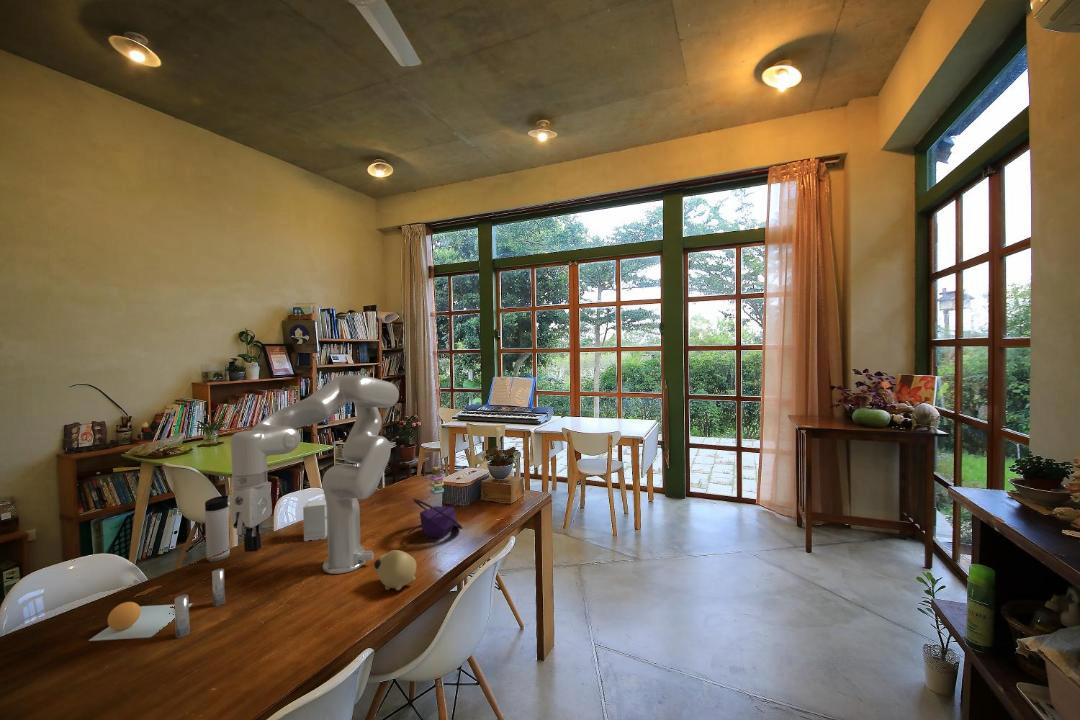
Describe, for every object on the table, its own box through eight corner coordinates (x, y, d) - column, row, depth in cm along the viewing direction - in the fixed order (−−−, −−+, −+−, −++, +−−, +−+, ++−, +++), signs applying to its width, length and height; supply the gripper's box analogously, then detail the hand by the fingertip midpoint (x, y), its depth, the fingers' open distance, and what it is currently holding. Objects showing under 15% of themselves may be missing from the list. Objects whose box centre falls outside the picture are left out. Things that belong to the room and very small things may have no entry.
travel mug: (235, 554, 150) (233, 495, 149) (215, 563, 143) (213, 501, 143) (222, 551, 152) (220, 494, 151) (202, 560, 145) (200, 500, 145)
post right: (227, 600, 120) (226, 568, 120) (220, 606, 118) (219, 572, 118) (217, 601, 120) (216, 568, 120) (210, 606, 118) (209, 573, 118)
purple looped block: (480, 533, 162) (478, 465, 162) (432, 554, 146) (430, 479, 146) (442, 519, 177) (441, 457, 176) (395, 537, 161) (393, 468, 160)
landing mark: (193, 604, 119) (193, 603, 119) (150, 637, 105) (150, 636, 105) (139, 607, 118) (138, 606, 118) (88, 641, 104) (88, 640, 104)
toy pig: (396, 573, 134) (395, 538, 134) (423, 584, 127) (422, 547, 127) (368, 588, 125) (367, 551, 125) (396, 600, 119) (394, 561, 119)
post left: (192, 630, 107) (191, 594, 107) (184, 637, 105) (183, 600, 105) (181, 631, 107) (179, 594, 107) (172, 638, 105) (171, 600, 105)
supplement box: (325, 539, 160) (324, 504, 160) (303, 541, 158) (302, 506, 158) (330, 531, 167) (329, 498, 167) (309, 533, 166) (308, 500, 165)
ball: (116, 618, 112) (141, 624, 112) (96, 631, 106) (122, 637, 106) (125, 595, 112) (150, 600, 113) (106, 606, 106) (132, 612, 107)
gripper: (247, 487, 106) (250, 563, 106) (280, 470, 121) (283, 537, 121) (215, 488, 105) (218, 565, 106) (252, 472, 120) (254, 538, 120)
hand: (252, 550), depth 113 cm, fingers closed
